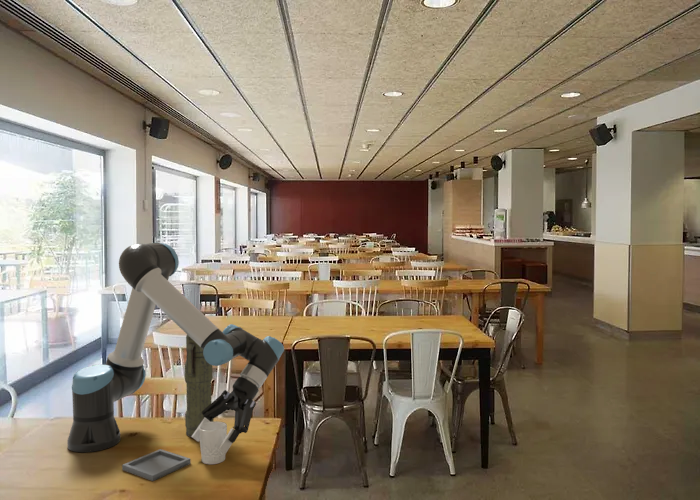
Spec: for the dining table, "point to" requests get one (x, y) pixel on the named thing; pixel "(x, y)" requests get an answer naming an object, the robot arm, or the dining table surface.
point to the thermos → (196, 385)
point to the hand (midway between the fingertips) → (207, 445)
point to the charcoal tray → (156, 464)
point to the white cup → (212, 441)
